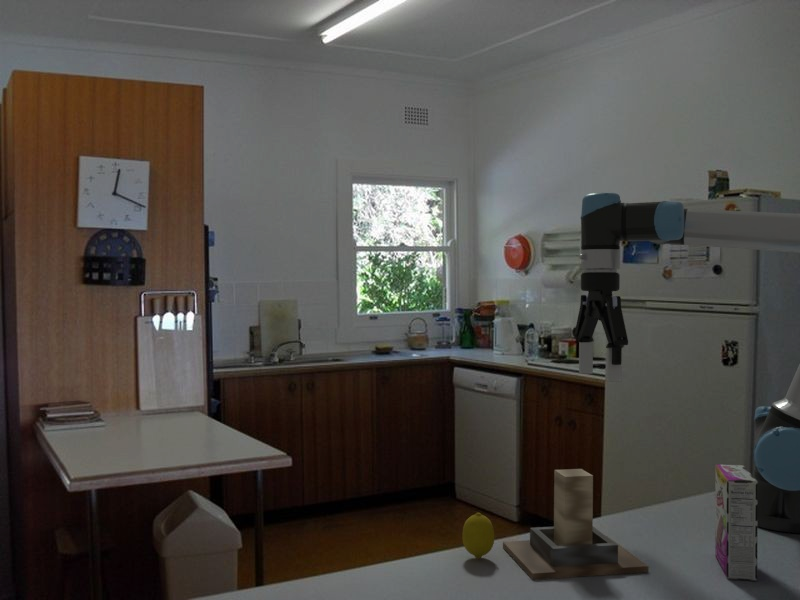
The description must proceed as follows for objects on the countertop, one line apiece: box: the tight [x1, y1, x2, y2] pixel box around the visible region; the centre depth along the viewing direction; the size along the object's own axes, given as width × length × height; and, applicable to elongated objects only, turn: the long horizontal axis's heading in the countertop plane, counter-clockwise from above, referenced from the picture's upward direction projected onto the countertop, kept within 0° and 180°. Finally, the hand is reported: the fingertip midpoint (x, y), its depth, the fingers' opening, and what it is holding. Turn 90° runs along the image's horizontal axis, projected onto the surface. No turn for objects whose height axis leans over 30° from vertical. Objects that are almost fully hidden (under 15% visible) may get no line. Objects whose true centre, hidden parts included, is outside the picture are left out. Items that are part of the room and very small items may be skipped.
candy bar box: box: [714, 463, 759, 582], centre depth 136 cm, size 11×5×16 cm, turn 168°
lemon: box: [461, 512, 495, 560], centre depth 141 cm, size 6×6×8 cm
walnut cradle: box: [502, 526, 649, 581], centre depth 141 cm, size 20×16×4 cm
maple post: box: [553, 468, 594, 546], centre depth 140 cm, size 5×5×14 cm
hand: (599, 377), depth 163 cm, fingers open, 13 cm apart
